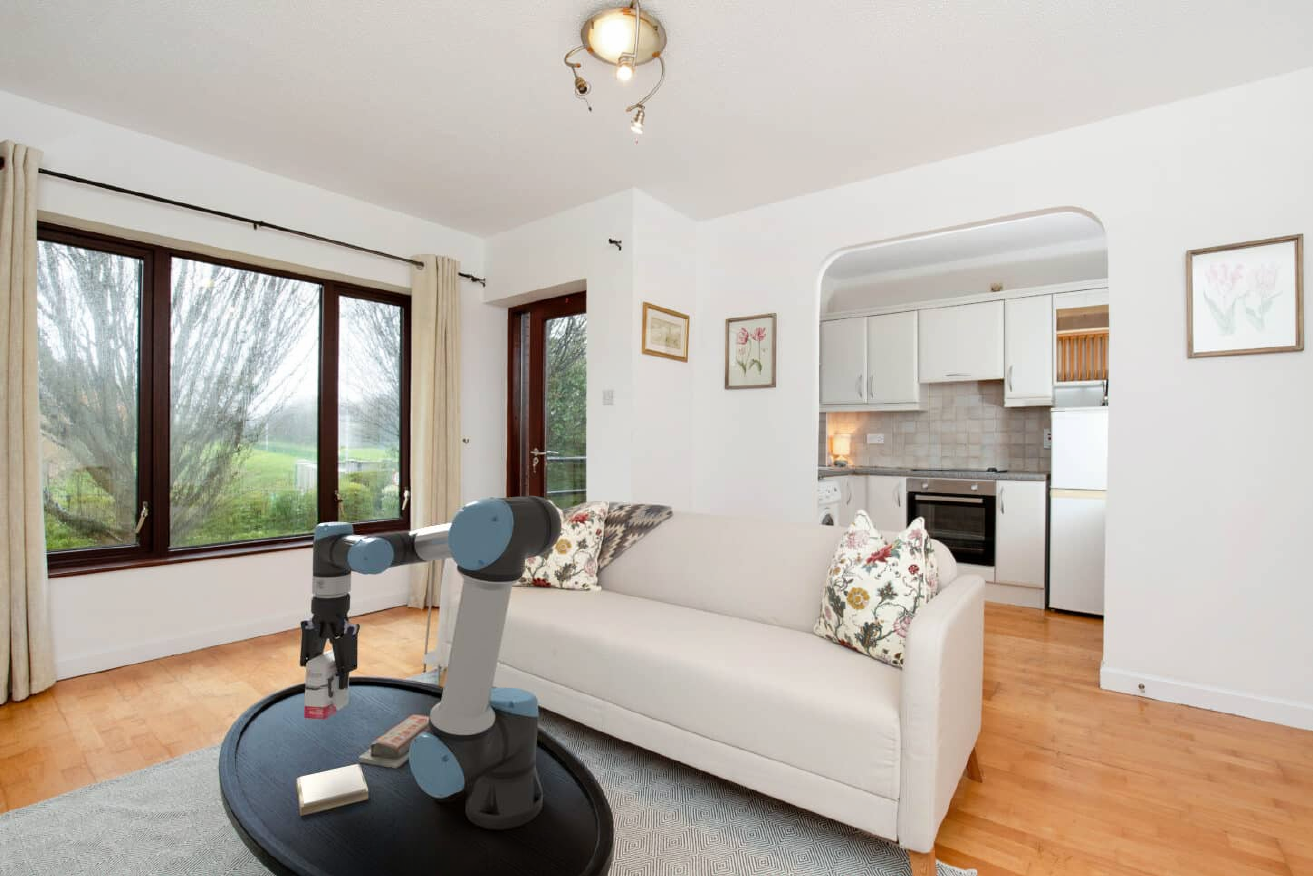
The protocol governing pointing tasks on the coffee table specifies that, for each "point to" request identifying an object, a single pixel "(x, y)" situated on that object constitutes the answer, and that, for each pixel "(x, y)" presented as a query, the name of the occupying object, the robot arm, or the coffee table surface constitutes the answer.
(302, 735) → the coffee table surface
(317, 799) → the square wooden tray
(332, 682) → the ink box
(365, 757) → the packaged product
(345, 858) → the coffee table surface
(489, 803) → the robot arm
